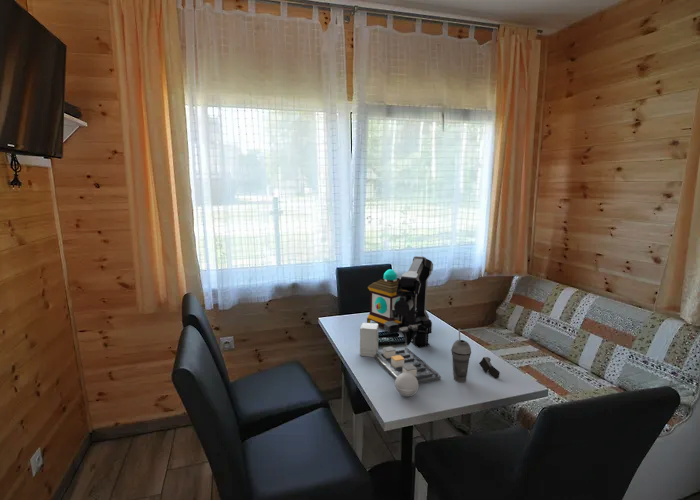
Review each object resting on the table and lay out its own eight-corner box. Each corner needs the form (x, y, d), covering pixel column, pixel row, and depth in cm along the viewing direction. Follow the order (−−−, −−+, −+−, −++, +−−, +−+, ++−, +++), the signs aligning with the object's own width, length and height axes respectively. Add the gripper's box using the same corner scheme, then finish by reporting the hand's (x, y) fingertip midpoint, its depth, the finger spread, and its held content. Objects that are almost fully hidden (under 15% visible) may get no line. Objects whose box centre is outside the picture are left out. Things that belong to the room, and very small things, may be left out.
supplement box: (376, 357, 157) (376, 329, 155) (359, 355, 158) (359, 328, 156) (378, 350, 164) (378, 323, 162) (362, 348, 165) (362, 322, 163)
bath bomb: (404, 386, 134) (405, 365, 133) (422, 395, 128) (423, 373, 127) (390, 394, 129) (390, 373, 127) (408, 404, 123) (408, 382, 121)
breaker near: (411, 372, 140) (411, 364, 140) (416, 376, 137) (416, 368, 136) (402, 374, 139) (402, 365, 138) (407, 378, 136) (407, 370, 135)
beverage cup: (466, 386, 133) (469, 334, 130) (447, 381, 137) (449, 330, 134) (471, 377, 140) (474, 328, 136) (452, 372, 143) (455, 324, 140)
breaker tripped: (399, 362, 148) (400, 354, 147) (404, 366, 145) (404, 358, 144) (391, 364, 147) (391, 356, 146) (395, 368, 143) (395, 360, 143)
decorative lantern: (363, 323, 196) (363, 269, 191) (387, 315, 209) (388, 263, 204) (391, 334, 181) (392, 275, 176) (416, 324, 194) (417, 269, 189)
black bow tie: (496, 381, 142) (503, 373, 138) (491, 382, 141) (498, 375, 137) (483, 362, 148) (489, 354, 144) (478, 363, 147) (485, 355, 143)
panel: (407, 352, 161) (407, 347, 161) (440, 379, 138) (440, 373, 138) (374, 358, 156) (374, 352, 155) (402, 387, 133) (402, 381, 132)
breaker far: (391, 353, 156) (391, 346, 155) (395, 357, 153) (395, 349, 152) (383, 355, 155) (383, 347, 154) (386, 359, 151) (386, 351, 151)
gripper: (418, 299, 154) (417, 334, 156) (378, 304, 147) (377, 340, 150) (433, 307, 143) (431, 344, 146) (390, 312, 137) (389, 351, 140)
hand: (407, 345), depth 146 cm, fingers closed
